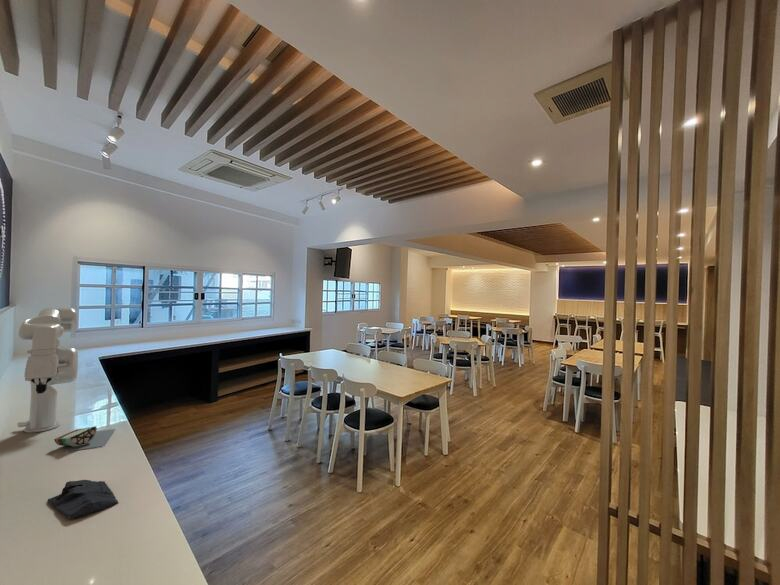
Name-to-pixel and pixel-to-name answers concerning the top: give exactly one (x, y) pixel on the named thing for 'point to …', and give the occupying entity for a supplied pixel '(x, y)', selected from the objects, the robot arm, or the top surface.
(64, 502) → the dark slate chunk
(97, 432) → the rubber mat
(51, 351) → the robot arm
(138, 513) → the top surface
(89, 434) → the food container
